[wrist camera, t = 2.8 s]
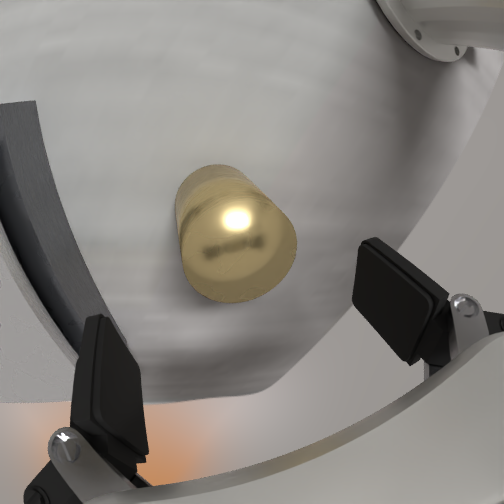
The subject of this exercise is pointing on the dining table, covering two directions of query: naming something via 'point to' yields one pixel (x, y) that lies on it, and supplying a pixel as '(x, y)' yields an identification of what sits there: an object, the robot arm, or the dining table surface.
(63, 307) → the scale
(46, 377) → the scale pan
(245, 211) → the brass weight
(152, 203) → the dining table surface
